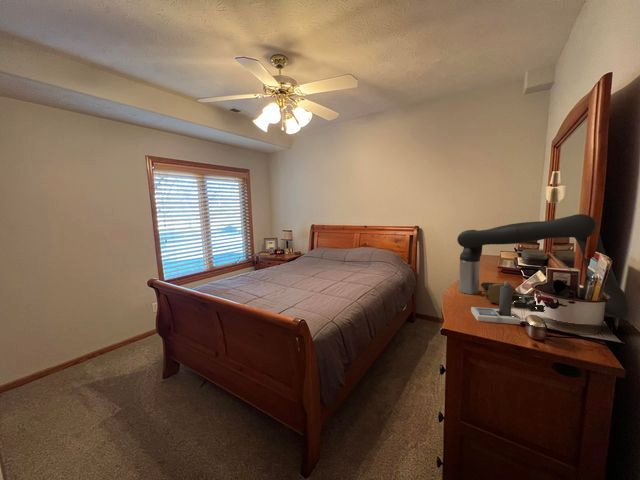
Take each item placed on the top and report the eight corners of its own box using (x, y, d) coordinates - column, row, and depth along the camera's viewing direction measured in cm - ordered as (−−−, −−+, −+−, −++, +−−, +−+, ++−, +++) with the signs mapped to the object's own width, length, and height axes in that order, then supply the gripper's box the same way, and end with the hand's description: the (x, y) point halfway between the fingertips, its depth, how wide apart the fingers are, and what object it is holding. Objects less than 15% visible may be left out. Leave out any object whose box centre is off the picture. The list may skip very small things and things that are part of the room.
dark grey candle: (497, 315, 109) (499, 280, 107) (508, 316, 108) (510, 280, 106) (500, 319, 105) (502, 282, 104) (512, 320, 104) (514, 283, 102)
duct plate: (471, 311, 115) (471, 305, 114) (511, 314, 110) (511, 308, 110) (477, 320, 105) (478, 314, 105) (522, 324, 101) (522, 318, 100)
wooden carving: (519, 303, 122) (520, 282, 121) (523, 306, 118) (525, 285, 117) (479, 300, 127) (480, 280, 126) (482, 304, 123) (483, 283, 121)
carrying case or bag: (486, 292, 139) (518, 294, 135) (486, 287, 139) (518, 288, 135) (479, 286, 149) (509, 288, 146) (479, 281, 149) (509, 282, 145)
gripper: (549, 289, 107) (503, 286, 112) (570, 301, 94) (517, 297, 98) (547, 306, 108) (502, 303, 113) (569, 321, 95) (516, 316, 99)
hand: (509, 300), depth 105 cm, fingers open, 8 cm apart
